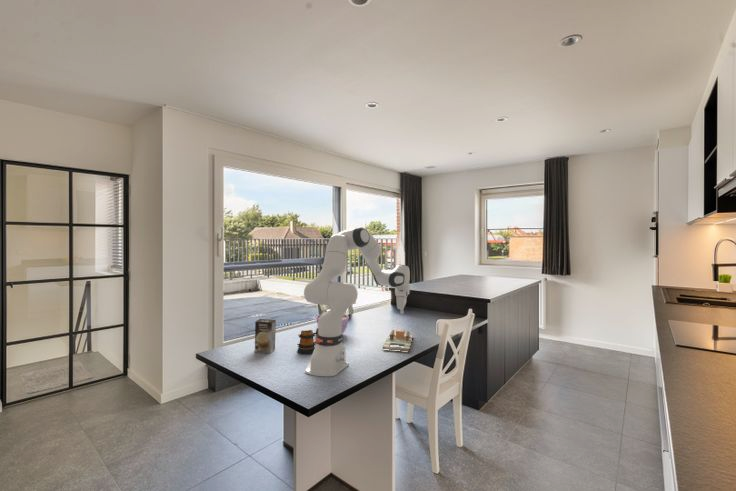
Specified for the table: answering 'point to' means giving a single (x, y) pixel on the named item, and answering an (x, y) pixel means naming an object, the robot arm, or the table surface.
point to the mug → (307, 342)
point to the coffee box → (265, 335)
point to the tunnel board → (398, 341)
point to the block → (400, 333)
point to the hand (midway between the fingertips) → (401, 313)
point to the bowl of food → (344, 321)
